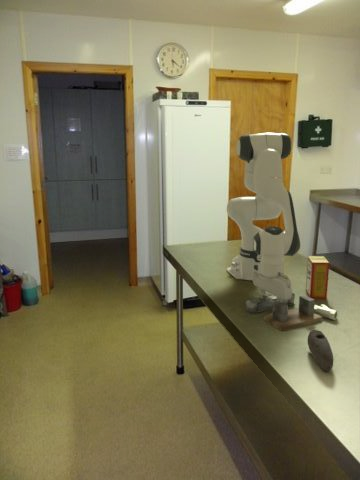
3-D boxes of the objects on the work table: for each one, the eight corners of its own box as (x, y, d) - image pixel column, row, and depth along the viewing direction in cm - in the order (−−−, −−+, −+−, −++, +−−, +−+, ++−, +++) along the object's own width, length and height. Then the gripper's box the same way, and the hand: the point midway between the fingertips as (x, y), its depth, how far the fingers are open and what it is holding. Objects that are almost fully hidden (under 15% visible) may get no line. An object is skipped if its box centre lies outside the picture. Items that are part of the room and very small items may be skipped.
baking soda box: (326, 299, 153) (329, 261, 150) (310, 298, 154) (312, 261, 151) (321, 290, 163) (323, 255, 159) (305, 290, 163) (307, 255, 160)
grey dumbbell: (243, 310, 145) (244, 300, 144) (289, 300, 153) (289, 291, 152) (250, 314, 141) (250, 304, 140) (296, 304, 149) (297, 294, 148)
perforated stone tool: (338, 377, 101) (340, 354, 100) (318, 376, 102) (319, 353, 100) (323, 348, 116) (324, 328, 114) (305, 348, 116) (307, 328, 115)
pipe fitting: (318, 311, 144) (311, 315, 139) (319, 301, 143) (312, 305, 138) (339, 316, 139) (333, 321, 134) (341, 306, 138) (334, 311, 133)
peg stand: (264, 319, 136) (264, 300, 135) (302, 310, 143) (303, 292, 142) (281, 331, 127) (282, 310, 126) (322, 320, 134) (323, 301, 133)
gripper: (297, 275, 135) (295, 311, 138) (263, 261, 153) (262, 293, 157) (283, 278, 133) (281, 314, 136) (250, 263, 151) (249, 295, 154)
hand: (270, 302), depth 146 cm, fingers open, 7 cm apart
